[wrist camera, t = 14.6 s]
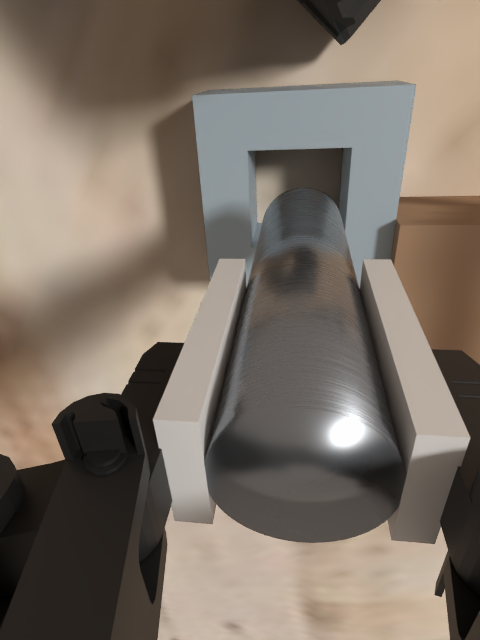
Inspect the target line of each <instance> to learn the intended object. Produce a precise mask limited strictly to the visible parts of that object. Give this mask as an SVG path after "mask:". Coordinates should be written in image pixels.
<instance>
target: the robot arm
mask: <svg viewBox="0 0 480 640" xmlns="http://www.w3.org/2000/svg"><path fill="white" fill-rule="evenodd" d="M245 293H246V268H245V259H219V261H218V264H217V266H216V269H215V271H214V273H213V276H212V278H211V281H210V283H209V285H208V288H207V290H206V293H205V295H204V297H203V300H202V302H201V305H200V307H199V309H198V312H197V314H196V317H195V319H194V322H193V324H192V326H191V329H190V331H189V334H188V336H187V338H186V341H185V343H170V342H157V343H156V344H155V345H154V346H153V347H151V348H150V349H149V350H148V351H146V352H145V353H144V354H143V355H142V357H141V359H140V361H139V363H138V364H137V366H136V368H135V372H133V374H132V376H131V377H130V379H129V381H128V382H129V383H128V384H127V385H126V387H125V389H124V390H123V392H122V394H121V395H120V394H112V393H101V394H96V395H91V396H87V397H85V398H82V399H80V400H78V401H76V402H73V403H72V404H70V405H69V406H68V407H67V408H65V409H64V410H63V411H61V412H60V413H59V415H58V416H57V417H56V419H55V420H54V421H53V423H52V426H53V429H54V431H55V434H56V437H57V439H58V442H59V444H60V447H61V449H62V452H63V454H64V457H65V460H61V461H58V462H55V463H50V464H45V465H40V466H35V467H31V468H26V469H21V470H16V468H15V466H14V464H13V463H12V461H11V460H10V458H9V457H7V456H4V455H2V454H0V640H157V638H158V628H159V619H160V609H161V600H162V591H163V581H164V572H165V562H166V553H167V537H166V531H165V524H166V521H167V517H168V514H169V511H170V507H171V506H172V511H173V516H174V520H175V521H183V522H194V523H206V524H213V519H214V513H215V508H216V503H215V502H214V500H213V499H212V497H211V495H210V494H209V492H208V487H207V479H206V472H205V465H204V462H205V457H206V453H207V449H208V445H209V441H210V437H211V433H212V429H213V425H214V420H215V416H216V412H217V408H218V404H219V400H220V396H221V392H222V387H223V383H224V379H225V375H226V371H227V367H228V363H229V359H230V354H231V350H232V346H233V342H234V338H235V334H236V330H237V326H238V321H239V317H240V313H241V309H242V305H243V301H244V297H245ZM360 294H361V298H362V302H363V306H364V309H365V313H366V317H367V321H368V325H369V329H370V333H371V337H372V341H373V345H374V349H375V353H376V357H377V361H378V365H379V369H380V373H381V377H382V381H383V385H384V389H385V393H386V397H387V401H388V405H389V409H390V413H391V417H392V421H393V425H394V429H395V433H396V437H397V441H398V445H399V449H400V453H401V457H402V461H403V465H404V469H405V473H406V480H405V484H404V488H403V492H402V497H401V501H400V505H399V507H398V509H397V510H396V511H395V512H394V514H393V515H392V516H391V517H390V518H388V524H389V530H390V535H391V540H396V541H407V542H418V543H430V544H435V542H436V539H437V536H438V533H439V530H440V527H442V531H443V534H444V537H445V541H446V544H447V547H448V552H447V555H446V558H445V560H444V563H443V566H442V568H441V571H440V574H439V577H438V579H437V582H436V589H435V595H436V596H440V597H442V594H443V592H444V589H445V593H446V603H447V612H448V622H449V632H450V640H480V365H479V364H478V363H477V362H476V361H474V360H473V359H472V358H471V357H469V356H468V355H467V354H466V353H464V352H463V351H462V350H439V349H431V348H430V346H429V344H428V341H427V339H426V337H425V335H424V332H423V330H422V328H421V326H420V323H419V321H418V319H417V317H416V314H415V312H414V310H413V308H412V305H411V303H410V301H409V299H408V297H407V294H406V292H405V290H404V288H403V285H402V283H401V281H400V279H399V276H398V274H397V272H396V270H395V267H394V265H393V263H392V261H391V259H363V264H362V273H361V282H360Z"/></svg>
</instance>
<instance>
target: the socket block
mask: <svg viewBox="0 0 480 640" xmlns="http://www.w3.org/2000/svg"><path fill="white" fill-rule="evenodd" d="M390 259H391V261H392V263H393V265H394V267H395V270H396V272H397V274H398V276H399V279H400V281H401V283H402V285H403V288H404V290H405V292H406V294H407V297H408V299H409V301H410V303H411V305H412V308H413V310H414V312H415V314H416V317H417V319H418V321H419V323H420V326H421V328H422V330H423V332H424V335H425V337H426V339H427V341H428V344H429V346H430V348H431V349H439V350H462V351H463V352H464V353H466V354H467V355H468V356H469V357H471V358H472V359H473V360H474V361H476V362H477V363H478V364H479V365H480V196H442V197H399V204H398V211H397V217H396V224H395V231H394V238H393V244H392V251H391V258H390Z"/></svg>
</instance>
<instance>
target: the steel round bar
mask: <svg viewBox="0 0 480 640" xmlns="http://www.w3.org/2000/svg"><path fill="white" fill-rule="evenodd" d="M204 465H205V472H206V479H207V487H208V492H209V494H210V495H211V497H212V499H213V500H214V502H215V503H216V504H217V505H218V506H219V507H220V509H222V510H223V511H224V512H225V513H226V514H227V515H228V516H230V517H231V518H232V519H234V520H235V521H237V522H238V523H240V524H242V525H243V526H245V527H247V528H249V529H251V530H253V531H256V532H259V533H261V534H264V535H267V536H270V537H274V538H278V539H283V540H288V541H295V542H308V543H318V542H332V541H338V540H344V539H348V538H352V537H355V536H358V535H361V534H364V533H366V532H368V531H370V530H372V529H374V528H376V527H378V526H379V525H381V524H382V523H384V522H385V521H386V520H387V519H388V518H390V517H391V516H392V515H393V514H394V512H395V511H396V510H397V509H398V507H399V505H400V501H401V497H402V492H403V488H404V484H405V480H406V473H405V469H404V465H403V461H402V457H401V453H400V449H399V445H398V441H397V437H396V433H395V429H394V425H393V421H392V417H391V413H390V409H389V405H388V401H387V397H386V393H385V389H384V385H383V381H382V377H381V373H380V369H379V365H378V361H377V357H376V353H375V349H374V345H373V341H372V337H371V333H370V329H369V325H368V321H367V317H366V313H365V309H364V306H363V302H362V298H361V294H360V290H359V286H358V282H357V278H356V274H355V270H354V266H353V262H352V258H351V254H350V250H349V246H348V242H347V238H346V234H345V230H344V226H343V222H342V218H341V214H340V211H339V209H338V207H337V205H336V204H335V203H334V201H333V200H332V199H331V198H330V197H329V196H327V195H326V194H324V193H323V192H320V191H318V190H315V189H311V188H296V189H292V190H289V191H286V192H284V193H282V194H281V195H279V196H278V197H277V198H276V199H275V200H273V202H272V203H271V204H270V205H269V207H268V208H267V210H266V213H265V215H264V218H263V223H262V227H261V231H260V235H259V239H258V243H257V247H256V251H255V256H254V260H253V264H252V268H251V272H250V276H249V280H248V284H247V289H246V293H245V297H244V301H243V305H242V309H241V313H240V317H239V321H238V326H237V330H236V334H235V338H234V342H233V346H232V350H231V354H230V359H229V363H228V367H227V371H226V375H225V379H224V383H223V387H222V392H221V396H220V400H219V404H218V408H217V412H216V416H215V420H214V425H213V429H212V433H211V437H210V441H209V445H208V449H207V453H206V457H205V462H204Z"/></svg>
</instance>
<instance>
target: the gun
mask: <svg viewBox="0 0 480 640" xmlns="http://www.w3.org/2000/svg"><path fill="white" fill-rule="evenodd" d="M298 1H299V2H300V4H301V5H302V6H303V7H304V8H305V9H306V10H307V11H308V12H309V13H310V14H311V15H312V16H313V17H314V18H315V19H316V20H317V21H318V22H319V23H320V24H321V25H322V26H323V27H324V28H325V29H326V30H327V31H328V32H329V33H330V34H331V35H332V36H333V37H334V38H335V39H336V41H337V42H338V43H339V44H340V45H342V44H344V43H345V42H346V41H347V40H348V39H349V38H350V37H351V36H352V35H353V34H354V33H355V31H356V30H357V29H358V28H359V26H360V25H361V24H362V23H363V22H364V20H365V19H366V18H367V17H368V15H369V14H370V13H371V12H372V10H373V9H374V8H375V7H376V6H377V4H378V3H379V2H380V1H381V0H298Z"/></svg>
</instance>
